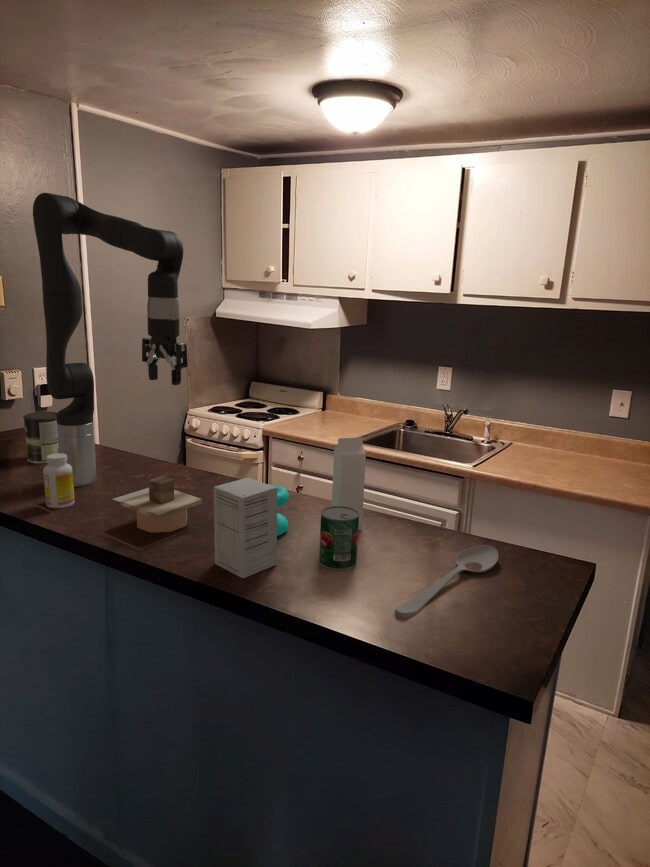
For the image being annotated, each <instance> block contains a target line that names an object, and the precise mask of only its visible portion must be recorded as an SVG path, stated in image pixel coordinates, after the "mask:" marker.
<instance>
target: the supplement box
mask: <svg viewBox="0 0 650 867" xmlns="http://www.w3.org/2000/svg"><path fill="white" fill-rule="evenodd" d="M271 485H272V484H268V483H264V482H261V481H259V480H256V479H254V478H251V477H244V478H241V479H237V480H235V481H231V482H226V483H222V484H219V485H215V486H213V518H214V519H213V520H214V523H213V524H214V525H213V526H214V527H213V528H214V533H213V534H214V535H213V536H214V564H215V565H216V566H218V567H221V569H224V570H226V571H228V572H230V573H232V574H233V575H235V576H237V577H239V578H241V579H245V578H249V577H250V576H253V575H256V574H257V573H259V572H260V573H261V572H262V571H265V570H267V569H269V568H272V567H274V566H277V564H278V563H277V562H278V556H277V555H278V536H277V513H278V508H277V488H276V487H273V486H271Z"/></svg>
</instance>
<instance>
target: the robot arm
mask: <svg viewBox="0 0 650 867" xmlns="http://www.w3.org/2000/svg"><path fill="white" fill-rule="evenodd" d="M32 205H33V206H32V219H33V226H34V232H35V237H36V243H37V248H38V254H39V255H38V256H39V262H40V263H39V265H40V274H41V285H42V286H41V287H42V301H43V302H42V304H43V305H42V306H43V313H44V322H45V324H44V325H45V336H46V338H45V340H46V343H45V344H46V352H45V353H46V354H45V355H46V358H45V360H46V361H45V364H46V365H45V370H46V373H45V374H46V375H45V376H46V386H47V390H48V393H49V394H50V396H51V397H52V398H53V399H54V400H66V399H67V400H68V399H72V401H71V402H70V404H69V405H67V406H66V407H64V408H62V409H61V410H59V411H58V412H56V413H57V415H56V420H57V432H58V446H59V448H58V453H61V454H66V455H67V464H69V465H71V467H72V471H73V485H74V488H76V487H77V488H79V487H80V488H81V487H86V486H90V485H92V484H95V483H96V482H97V465H96V463H97V460H96V444H95V432H94V431H95V430H94V414H95V379H94V373H93V371H92V368H91V367H90V365H89V364H88V363H85V362H74V363H72V362H71V363H66V354H67V348H68V343H69V341H70V340H71V337H72V336H73V334H74V332H75V331H76V328H77V327H78V326H79V324H80V321H81V319H82V315H83V300H82V298H83V297H82V290H81V289H82V288H81V286H80V282H79V280H78V278H77V276H76V275H75V272H74V271H73V269H72V267H71V266H70V263H69V261H68V260H67V256H66V254H65V251H64V250H65V249H64V245H63V244H64V243H63V235H81V236H90V237H94V238H97V239H99V240H101V241H102V242H103V243H106V244H107V245H109V246H112V247H115V248H118V249H121V250H125V251H126V252H132V253H133V254H135V255H137V256H139V257H141V258H144V259H147V260H150V261H155V262H157V265H156V266H157V267H156V269H155V270H154V271H152V272H150V273H149V274H148V275H147V304H146V306H147V307H146V311H147V312H146V313H147V314H146V317H147V322H146V323H147V335H148V336H149V337H143V338H142V339H141V361H142V362H143V363H144V362H145V363H146V365H147V366H148V368H147V369H148V372H147V373H148V379H149V381H157V380H159V371H158V370H159V368H158V367H159V366H158V363H159V361H160V359H162V360H163V359H164V360H166V361H165V362H167V363H169V365H170V367H171V369H172V370H171V375H170V376H171V385H172V386H178V385H181V381H182V369H184V368H188V365H189V364H188V350H187V349H188V347H187V346H188V345H187V343H186V342H178V341H177V337H180V305H179V285H178V281H179V277H180V274H181V268H182V264H183V259H184V252H185V251H184V245H183V242H182V238H181V237H180V236H179V235H178V234H177V233H176V232H174V231H170V230H162V229H156V228H153V227H152V228H151V227H147V226H145V225H143V224H141V223H139V222H136V221H133V220H130V219H126V218H124V217H119V216H116V215H111V214H106V213H103V212H100V211H98V210H95V209H93V208H92V207H89V206H87V205H86V204H84V203H81V202H79V201H78V200H77V199H74V198H72V197H69V196H65V195H62V194H61V195H60V194H56V193H50V192H40V193H39V194H37V196H36V197H35V199H34V201H33V204H32ZM147 353H148V354H147Z"/></svg>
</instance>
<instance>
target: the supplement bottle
mask: <svg viewBox="0 0 650 867" xmlns="http://www.w3.org/2000/svg"><path fill="white" fill-rule="evenodd" d="M46 459H47V463H46V464H47V465H45V466H44V467H43V470H42V473H43V486H44V495H45V496H44V497H45V506H46V507H48V508H51V509H62V508H68V507H70V506H72V505H74V504H75V499H76V498H75V497H76V496H75V487H74V485H73V471H72V467H71V465H69V464H67V455H66V454H61V453H58V454H51V455H48V456H47V457H46Z"/></svg>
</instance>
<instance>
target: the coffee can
mask: <svg viewBox="0 0 650 867" xmlns="http://www.w3.org/2000/svg"><path fill="white" fill-rule="evenodd" d="M57 413H58V412H56V411H55V412H54V411H37V412H30V413H29V412H28V413H26V414H24V415H23V416H22V417H23V423H24V426H23V427H24V433H25V437H24V438H25V445H26V458H27V459H26V460H27V462H28V463H31V464H36V465H37V464H39V465H42V464H43V465H44V464H48V463H47V459H46V457H47V456H48V455H51V454H58V448H59V446H58V432H57V420H56V415H57Z"/></svg>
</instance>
